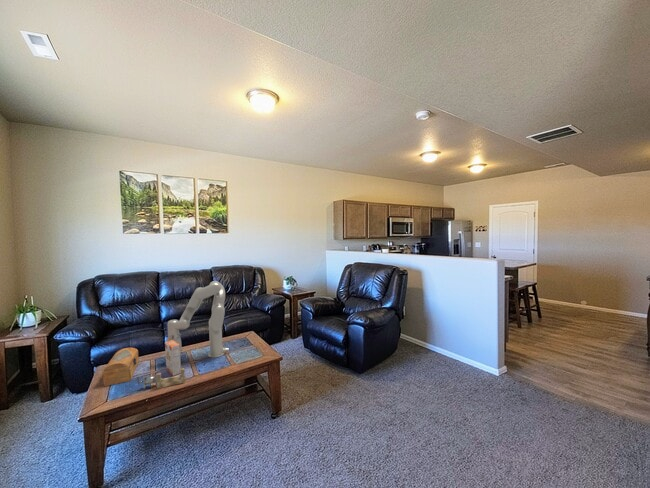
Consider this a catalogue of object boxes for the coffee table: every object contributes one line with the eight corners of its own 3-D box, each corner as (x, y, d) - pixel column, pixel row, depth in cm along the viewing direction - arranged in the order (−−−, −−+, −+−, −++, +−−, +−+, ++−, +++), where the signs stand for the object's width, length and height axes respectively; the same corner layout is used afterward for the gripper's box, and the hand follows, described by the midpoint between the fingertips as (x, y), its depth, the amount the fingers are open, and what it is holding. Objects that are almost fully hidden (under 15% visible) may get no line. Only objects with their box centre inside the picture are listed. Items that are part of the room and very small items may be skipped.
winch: (158, 383, 183) (157, 371, 183) (157, 386, 179) (156, 374, 179) (138, 388, 178) (138, 375, 178) (137, 391, 174) (136, 378, 174)
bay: (185, 375, 192) (184, 363, 192) (184, 382, 184) (184, 369, 183) (159, 381, 186) (158, 368, 185) (157, 388, 177) (156, 375, 177)
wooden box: (132, 381, 188) (131, 360, 187) (102, 387, 181) (101, 366, 181) (141, 362, 215) (140, 345, 215) (115, 367, 209) (114, 349, 208)
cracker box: (165, 370, 202) (164, 341, 201) (174, 367, 206) (173, 339, 205) (172, 376, 192) (170, 346, 191) (181, 373, 196) (180, 344, 196)
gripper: (184, 333, 219) (185, 355, 220) (162, 336, 213) (163, 359, 214) (184, 336, 213) (185, 359, 213) (161, 339, 206) (162, 363, 207)
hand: (174, 359), depth 213 cm, fingers closed
